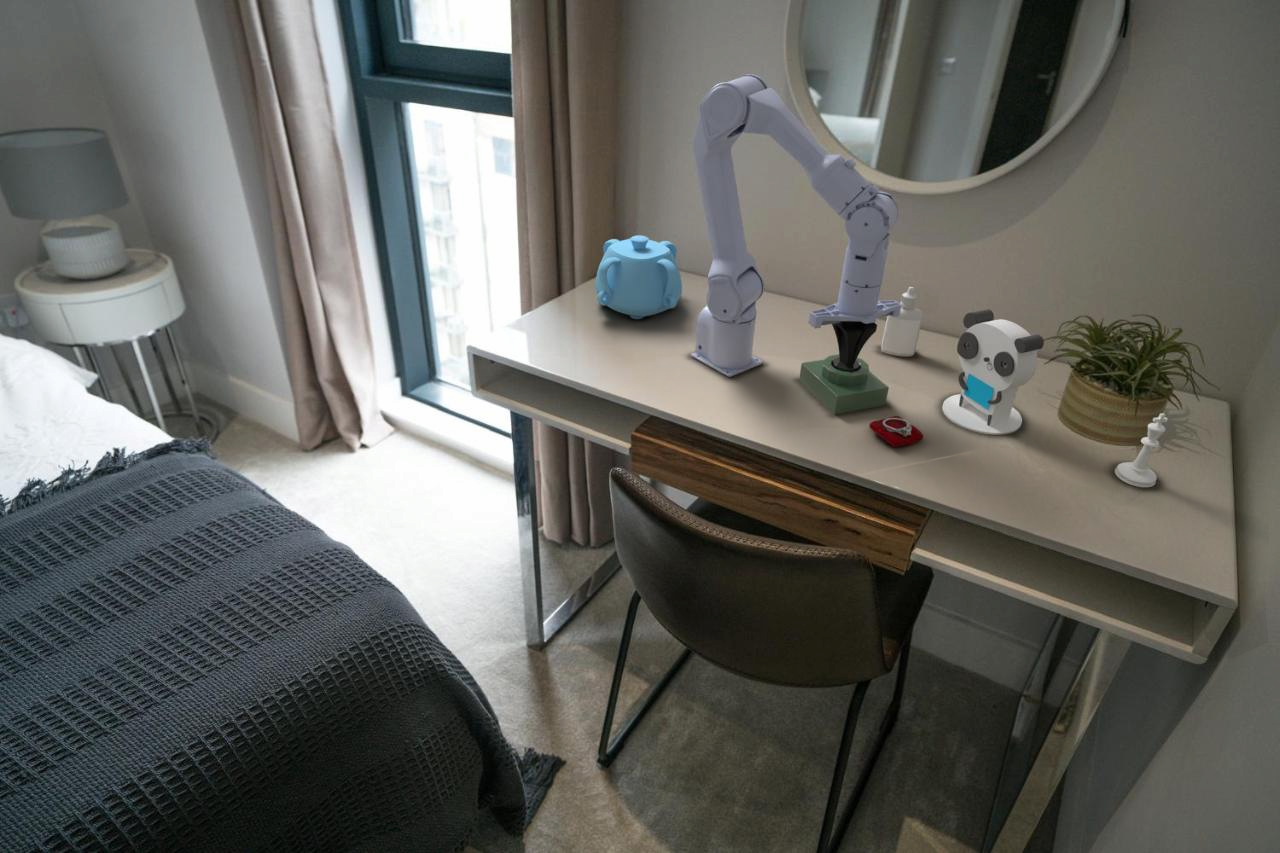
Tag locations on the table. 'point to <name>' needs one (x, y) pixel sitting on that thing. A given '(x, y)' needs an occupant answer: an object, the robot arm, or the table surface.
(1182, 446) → the table surface
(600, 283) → the decorative pot
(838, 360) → the black push button
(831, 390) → the green button base
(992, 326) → the panda figurine
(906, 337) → the eye dropper bottle
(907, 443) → the engagement ring
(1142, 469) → the chess piece
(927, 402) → the table surface
